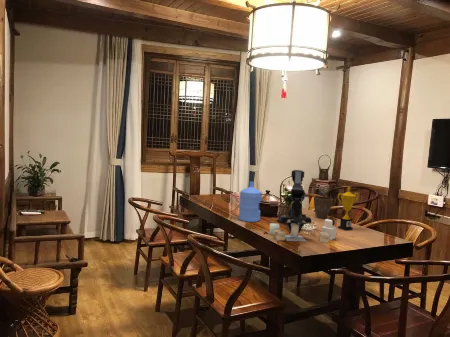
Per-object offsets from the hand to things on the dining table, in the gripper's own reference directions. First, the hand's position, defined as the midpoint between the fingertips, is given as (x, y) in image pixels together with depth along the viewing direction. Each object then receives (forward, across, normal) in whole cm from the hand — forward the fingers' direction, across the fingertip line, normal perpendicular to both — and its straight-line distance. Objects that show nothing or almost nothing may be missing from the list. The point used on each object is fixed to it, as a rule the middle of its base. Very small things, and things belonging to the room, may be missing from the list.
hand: (294, 233), depth 229 cm
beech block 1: (+3, -10, -3) cm, 11 cm away
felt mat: (+3, 0, 0) cm, 3 cm away
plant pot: (+4, +40, +61) cm, 73 cm away
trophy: (+4, +45, +28) cm, 53 cm away
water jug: (+4, -20, +46) cm, 50 cm away
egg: (+2, 0, 0) cm, 2 cm away
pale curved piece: (+3, -10, +10) cm, 14 cm away
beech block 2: (+3, +17, -5) cm, 18 cm away
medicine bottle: (+4, +23, +3) cm, 23 cm away
